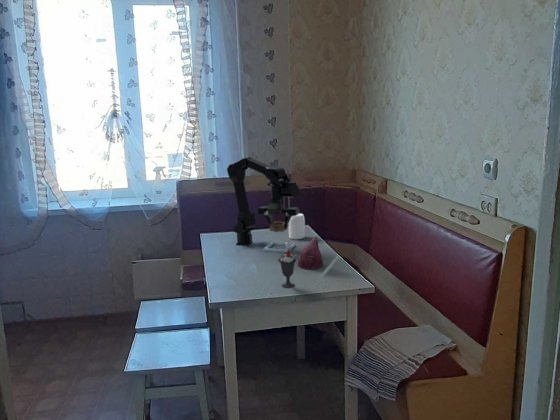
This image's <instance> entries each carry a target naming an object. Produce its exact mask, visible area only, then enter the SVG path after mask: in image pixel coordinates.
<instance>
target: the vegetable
mask: <svg viewBox="0 0 560 420" xmlns="http://www.w3.org/2000/svg"><path fill="white" fill-rule="evenodd" d="M323 265H324V263H323V256H322V253H321V251H320V248H319V240H318V236H317V235H316V236H315V237H313V238H311V240H309V242H308V243H307V244H306V245H304V247H303V248H302V249H301V251H300V253H299V257H298V261H297V267H298V268H300V269H303V270H309V271H311V270H312V271H314V270H319V269H320V268H322V267H323Z"/></svg>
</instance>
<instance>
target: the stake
mask: <svg viewBox="0 0 560 420" xmlns="http://www.w3.org/2000/svg"><path fill="white" fill-rule="evenodd" d="M285 243H286V246H285V249H286V252H288V249H289V248H290V243H291V241H289V240H287V241H285ZM289 251H290V252H291V250H289ZM291 254H292V253H291ZM283 255H284V254H281V255H280V258H282V257H283ZM292 256H293V257H294V258H295V259H296V257H297V256H296V254H294V253H293V254H292Z"/></svg>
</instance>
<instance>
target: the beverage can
mask: <svg viewBox="0 0 560 420" xmlns="http://www.w3.org/2000/svg"><path fill="white" fill-rule="evenodd" d="M288 237H289V238H290V239H291V240H303V239H304V238H306V221H305V215H304V214H303V213H300V212H299V214H298V215H296V216H292V217H291V219H290V221H289V224H288Z"/></svg>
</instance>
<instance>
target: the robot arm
mask: <svg viewBox="0 0 560 420" xmlns="http://www.w3.org/2000/svg"><path fill="white" fill-rule="evenodd" d="M248 169H251V170H253V171H256V172H257V173H259V174H262V175H264V176H265V178H266V179H268V181H269V182H268V183H267V186H269V187H271V198H270V203H269V204H268V205H261V206H260V207H258V208H257V210H256V211H257V215H262V216H263V217H264V218H266V220H267V221H268V224H269V225H270V224H271V223H273V222H274V217H273V216H278V215H279V214H285V215H284V216H283V217H284V222H285V231H286V230H288V229H287V226H288V227H289V221H290V219H291V217H292V216H296V215H298V214H299V213H300V208H299V207H298V206H297V207H293V206H292V207H288V208H286V205H285V199H286V198H294V199H296V198H298V196H299V194H300V188H299V186H298V185H297V182H296V181H291V179H290V178H289V177H288V175H287V172H286V170H285V169H284V168H283V167H280V166H274V165H273V166H272V165H268V164H265V163H264V162H261V161H259V160H257V159H254V158H253V157H250V156H247V157H243V158H241V159H240V160H238V161H236V162H234V163H232V164H229V165H227V168H226V171H227V175H228V178H229V179H230V180H231V182H232V183H233V188H234V194H235V197H236V203H237V207H238V214H237V218H236V219H237V222H236V223H237V224H235V226H234V227H233V231H234V233H235V234H236V239H237V241H236V243H235V245H239V246H249V245H251V244H252V243H253V242H254V241H253V234H252V231H253V230H254V227H255V225H256V221H257V219H256V215H255V213H254V212H252V211H251V210H250V207H249V203H248V197H247V192H246V188H245V177H246V171H247V170H248Z"/></svg>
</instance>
